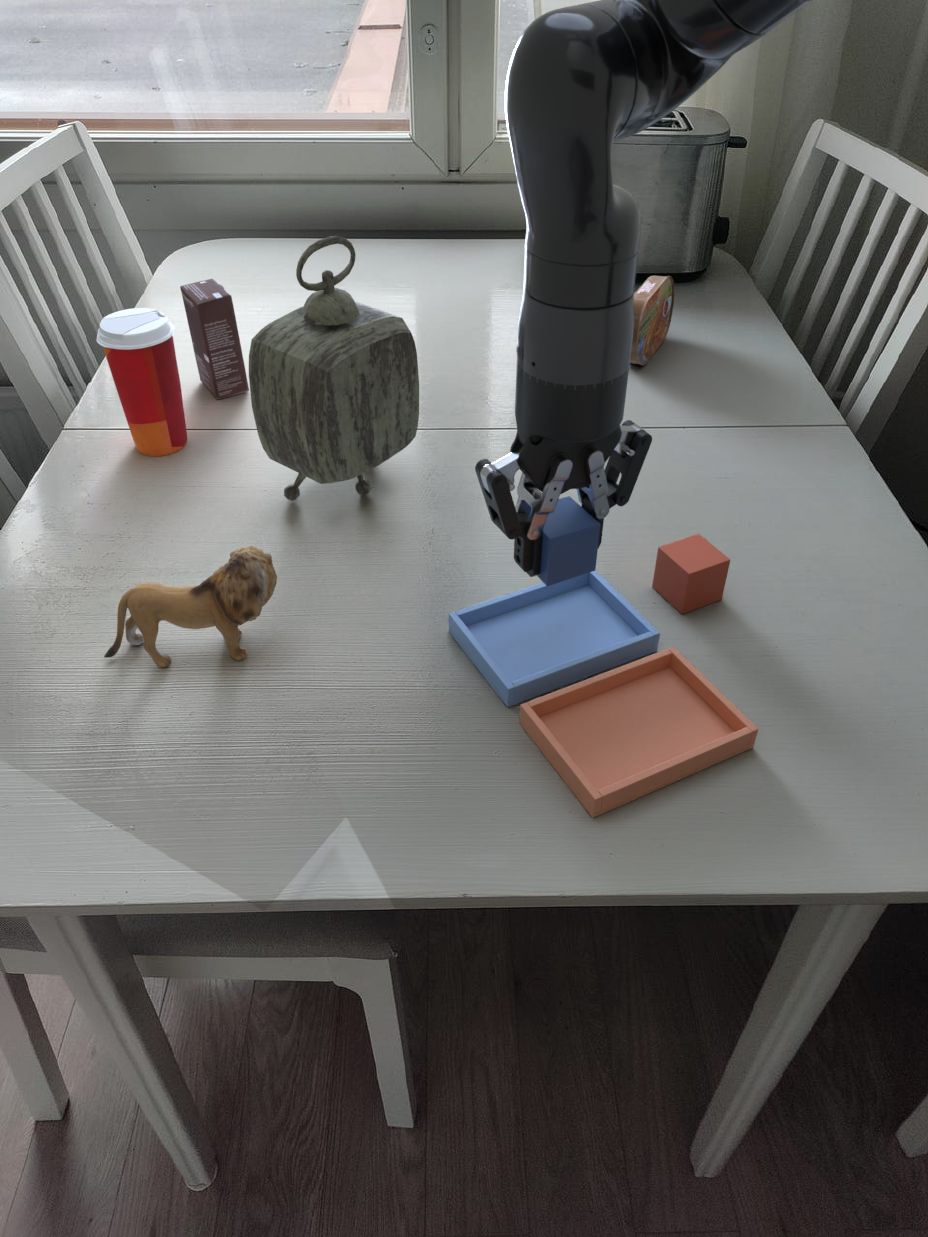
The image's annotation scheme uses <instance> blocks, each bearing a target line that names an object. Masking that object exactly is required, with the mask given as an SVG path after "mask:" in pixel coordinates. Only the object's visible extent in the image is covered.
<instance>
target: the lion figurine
mask: <svg viewBox="0 0 928 1237" xmlns="http://www.w3.org/2000/svg"><path fill="white" fill-rule="evenodd" d="M229 556H230V557H229V559H228V561H227V562H226V563H224V565H222V566H219V568H218V569H216V570H215V571H214V572H213V573H212V575H210V576H208V577H207V578H205V580H203V581H201V583H200V584H198V585H190V586H188V585H187V586H170V585H169V586H168V585H164V584H161V583H158V582H152V581H149V582H143V583H139V584H137V585H134V586H133V587H132V588H130V589H127V590H126V591H125V592H124V593H123V595H122V596H121V597H120V600H119V602H118V607H117V616H116V617H117V619H116V620H117V621H116V637H115V640H114V641H113V644H112V645H111V646H110V647H109V648H108V650H107V651H106V653H105V654H104V655H103V658H105V659H107V658H113V657H114V656H116V654H117V653H118V652H119V650H120V648H121V647H122V646H121V645H122V642H123V638H124V631H125V639H126V642H128V644H129V645H132V646H140V645H141V646H142V647H143V649H144V651H145V652H146V653H147V654H148V655H149V657H150V658H151V659H152V661H153V663H154V664H155V665H156V666H158V667H160V668H167V667H169V666H171V664H172V657H171V655H169V654H162V653H161V652H159V650H158V649H157V645H156V642H157V638H158V634H159V629H160V628H159V627H160V626H159V624H160V622H161V621H165V622H168V623H169V624H171V625H174V626H176V627H179V628H182V629H189V630H203V629H208V628H213V627H215V628H216V629H217V630H218V631H219V632H220V634H221V636H222V638H223V640H224V643H225V645H226V649H227V651H228V653H229V655H230V657H232V659H234V660H235V661H243V660H245V659H247V657H248V652H247V651H248V650H247V649H246V648H242V647H241V646H240V644H239V640H240V638H241V637H242V636H243V632H242V631H241V630H240V629H239V626H242V625H243V624H246V623H248V622H252V621H255V620H256V619H257V618H258V617H260V615H261V613H262V609H263V607H264V606H266V605H267V604H268V602H269V601H270V600H271V598H272V597H273V595H274V592H275V589H276V586H277V583H278V575H277V571H276V569H275V567H274V563H273V558H272V555H271V553H266V552H264V550H262V549H258V548H257V547H255V546H253V545H248V546H244V547H240V548H237V549H235V550H233V551H231V552H230V553H229ZM127 610H128V611H129V614H130V617H128V618H127ZM126 618H127V619H126ZM137 630H139V631H140V633H136V631H137ZM142 644H143V645H142Z"/></svg>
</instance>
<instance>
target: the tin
mask: <svg viewBox="0 0 928 1237" xmlns="http://www.w3.org/2000/svg"><path fill="white" fill-rule="evenodd" d="M674 304H675V282H674V279H673V277H672V276H671V275H667V276H666V275H665V276H663V275H650V276H649V277H647V279H646V280H645V281H644V282H643V283H642V284H641V285H640V286H639V288H638V289H637V290H636V291H634V329H633V339H632V348H631V356H630V364H634V365H640V366H643V367H644V366H645V365H647V364H648V362H649V361H650V359H651V358H652V357H653V355H654V354H655V353H656V352H657V350H658V349H659V348H660V347H661V345H662V344H663V343H664V341H665V340H666V337H667V335H668V332H669V330H670V326H671V322H672V318H673V310H674Z"/></svg>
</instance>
